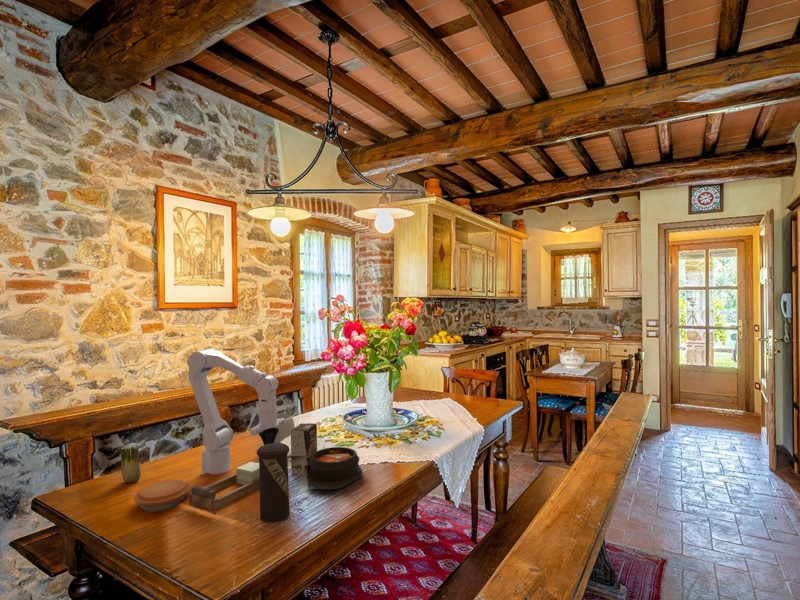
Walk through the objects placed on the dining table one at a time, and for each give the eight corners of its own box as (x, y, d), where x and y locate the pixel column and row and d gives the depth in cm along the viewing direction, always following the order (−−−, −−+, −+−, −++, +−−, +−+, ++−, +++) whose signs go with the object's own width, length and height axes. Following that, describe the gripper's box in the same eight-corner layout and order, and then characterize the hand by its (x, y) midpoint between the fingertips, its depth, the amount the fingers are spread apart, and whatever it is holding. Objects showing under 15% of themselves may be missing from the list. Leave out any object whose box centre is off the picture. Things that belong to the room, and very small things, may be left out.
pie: (161, 519, 126) (160, 501, 126) (121, 511, 131) (121, 494, 131) (202, 495, 140) (202, 479, 140) (165, 489, 146) (165, 474, 145)
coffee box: (308, 477, 152) (307, 430, 151) (290, 476, 153) (289, 430, 153) (318, 467, 160) (317, 423, 160) (301, 466, 162) (300, 422, 162)
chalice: (250, 458, 171) (249, 419, 171) (277, 447, 183) (276, 410, 183) (275, 464, 164) (274, 424, 164) (302, 452, 176) (301, 415, 176)
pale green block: (236, 483, 146) (236, 468, 146) (251, 476, 151) (250, 461, 151) (252, 487, 142) (251, 471, 142) (266, 480, 148) (266, 465, 148)
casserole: (320, 463, 164) (319, 441, 164) (369, 465, 161) (368, 442, 161) (294, 494, 139) (294, 467, 139) (352, 496, 137) (351, 469, 137)
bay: (187, 507, 132) (186, 485, 132) (251, 476, 154) (250, 457, 154) (213, 515, 127) (212, 492, 127) (275, 482, 149) (274, 463, 149)
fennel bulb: (119, 482, 151) (118, 447, 151) (133, 477, 155) (132, 443, 155) (129, 485, 148) (128, 450, 148) (143, 480, 153) (142, 445, 153)
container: (274, 526, 120) (272, 453, 120) (251, 518, 125) (250, 447, 124) (297, 513, 127) (295, 443, 127) (275, 505, 132) (273, 438, 132)
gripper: (260, 417, 145) (261, 459, 145) (291, 407, 158) (292, 445, 158) (245, 415, 149) (246, 455, 149) (276, 405, 161) (277, 442, 162)
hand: (268, 450), depth 154 cm, fingers closed
